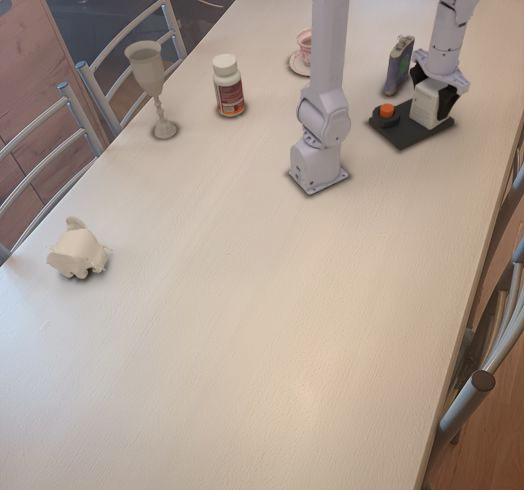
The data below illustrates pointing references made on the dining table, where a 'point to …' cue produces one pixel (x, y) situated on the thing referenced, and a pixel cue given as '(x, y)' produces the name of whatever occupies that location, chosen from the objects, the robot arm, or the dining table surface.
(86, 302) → the dining table surface
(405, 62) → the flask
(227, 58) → the pill bottle
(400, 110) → the scale
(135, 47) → the chalice
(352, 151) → the dining table surface
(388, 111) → the button
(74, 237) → the elephant figurine
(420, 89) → the product box
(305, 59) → the teacup
